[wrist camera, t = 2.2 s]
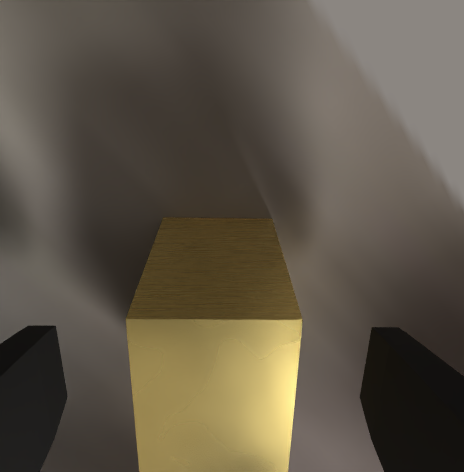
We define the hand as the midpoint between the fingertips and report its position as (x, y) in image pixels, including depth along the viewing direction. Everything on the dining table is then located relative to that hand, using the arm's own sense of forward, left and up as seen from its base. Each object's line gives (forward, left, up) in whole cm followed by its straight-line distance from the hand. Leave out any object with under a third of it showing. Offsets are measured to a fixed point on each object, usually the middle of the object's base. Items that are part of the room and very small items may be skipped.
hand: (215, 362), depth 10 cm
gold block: (0, 0, -3) cm, 3 cm away
